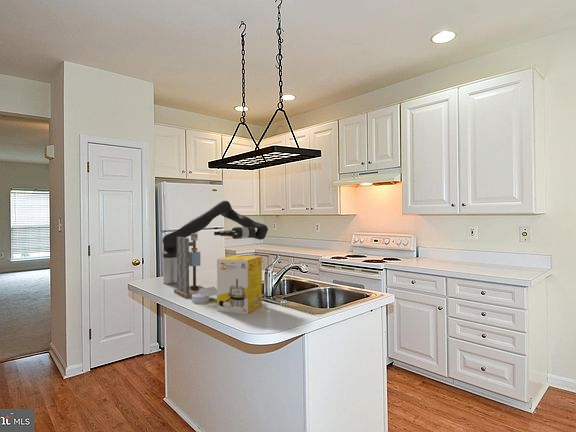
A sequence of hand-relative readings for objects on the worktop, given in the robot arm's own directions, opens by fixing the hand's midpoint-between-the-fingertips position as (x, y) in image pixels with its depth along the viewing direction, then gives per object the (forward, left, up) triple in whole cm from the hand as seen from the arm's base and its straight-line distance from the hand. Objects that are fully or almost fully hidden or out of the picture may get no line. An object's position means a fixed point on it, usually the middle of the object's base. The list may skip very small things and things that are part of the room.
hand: (217, 233), depth 220 cm
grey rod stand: (+8, -14, -34) cm, 38 cm away
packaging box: (+48, +6, -34) cm, 60 cm away
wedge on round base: (+27, -10, -34) cm, 45 cm away
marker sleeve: (+8, -14, -18) cm, 24 cm away
